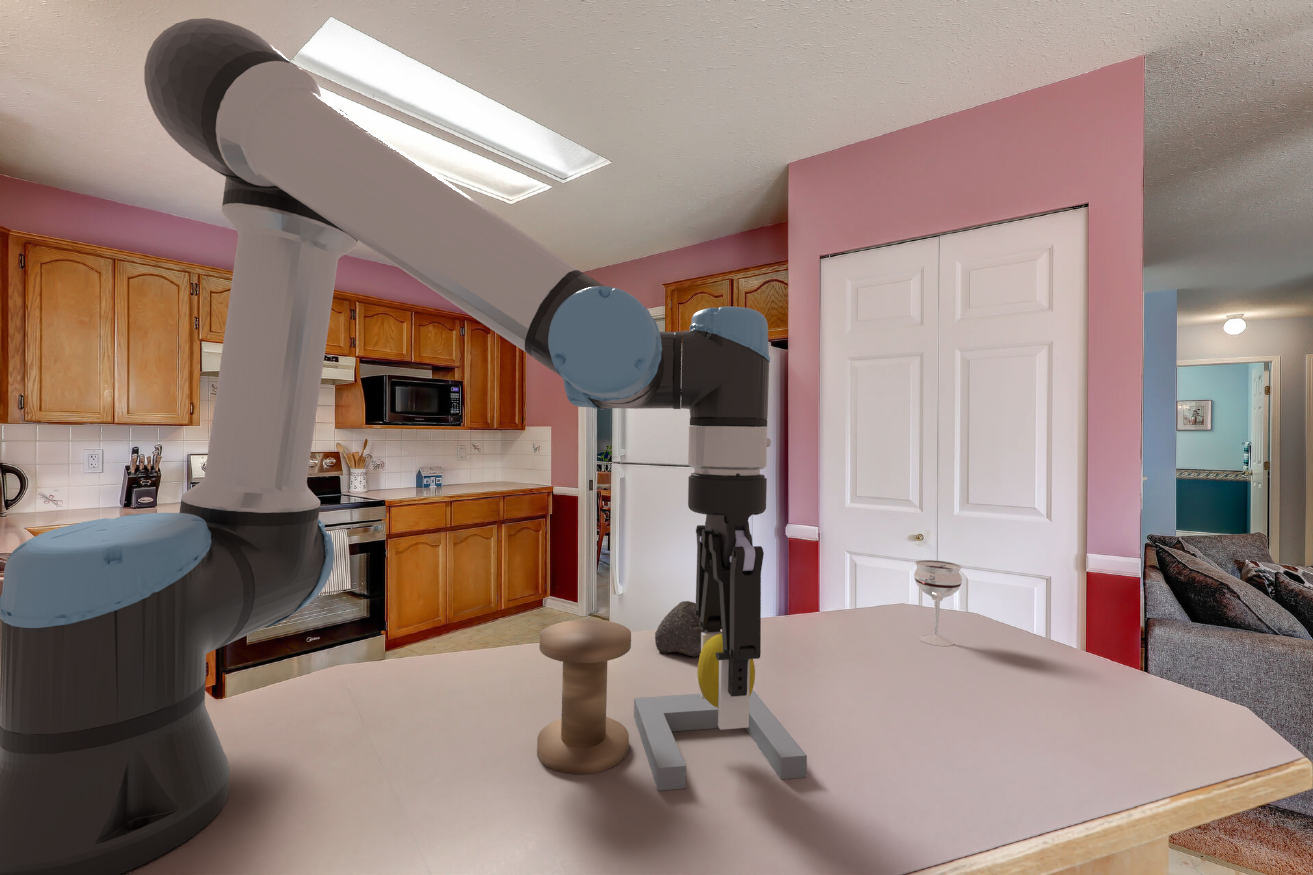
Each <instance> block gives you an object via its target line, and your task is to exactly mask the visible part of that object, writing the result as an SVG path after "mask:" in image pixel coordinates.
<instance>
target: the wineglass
mask: <svg viewBox="0 0 1313 875" xmlns="http://www.w3.org/2000/svg"><path fill="white" fill-rule="evenodd" d="M914 563H915V566H916V567H917V568H916V569H915V571H914V581H915V583H916V585H917V586H918V588H919V589H920V590H921V591H922V592H923V593H924V594H925V595H928V596H929V597H931V600H932V601H933V602H934V634H925V635H924V634H923V635H921V636H919V637H918V639H919V640H920V641H921V642H923V643H925V644H929V645H933V646H937V647H938V646H939V647H951V646H952V645H954V644H955V643H954V641H952V640H951V639H950V638H947V637H944V636H941V635H939V634H938V633H939V620H940V617H939V616H940V607H941V606H940V605H941V601H943V599H944V598H948V597H951V596H953V595H955V593H957V592H958V591H959V590H960V588H961V585H962V581H963V578H962V575H961V573H960V571H961V569H962V565H960V564H958V563H954V562H950V561H943V560H937V559H936V560H935V559H934V560H932V559H923V560H922V559H920V560H919V559H918V560H916V561H914Z"/></svg>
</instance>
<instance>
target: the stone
mask: <svg viewBox="0 0 1313 875" xmlns="http://www.w3.org/2000/svg"><path fill="white" fill-rule="evenodd" d="M695 610H696V602H693V601H689V600H686V601H685V600H684V601H683V600H682V601H681V602H679V603H678V604H677V605H676V606H674V607H673V608H672V609H671V610H670V611H669V612H668V613H667V614H666V615H665V616H664V617H663V620H661V622H660V624H659V625H658V627H657V629H656V631H655V633H654V639H655V640H654V642H655V647H656V649H657V650H658V651H659V653H662V654H669V653H678V654H679V653H680V654H683V655H684V656H690V657H692V658H695V657H697V656H700V653H701V633H702V632H704V630H701V628H700V625H699V622H700V618H699V619H697V618H696V616H695Z"/></svg>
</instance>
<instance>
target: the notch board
mask: <svg viewBox="0 0 1313 875" xmlns="http://www.w3.org/2000/svg"><path fill="white" fill-rule="evenodd" d="M633 717H634V721H635V724H636V727H637V731H638V733H639V737H640V739H641V743H642V745H643V749H644V751H645V755H646V758H647V761H648V765H649V767H650V771H651V774H652V776H653V780H654V783H655V788H656V790H657V791H659V792H660V791H669V790H680V789H681V790H682V789H686V787H687V786H686V784H687V783H686V781H687V780H686V779H687V778H686V777H687V776H686V775H687V765H686V762H685V760H684V758H683V756H682V753H681V751H680V749H679V746H678V743H677V742H676V738H675V737H674V735H673V733H672V732H682V731H684V732H685V731H693V730H694V731H696V730H706V729H707V730H709V729H711V730H712V729H720V728H719V727H718V708H717V707H715V706H713V705H712V704H710V703H709V702H708V701H707V700H706V699H702V698H701V697H700V693H693V694H676V695H675V694H674V695H658V696H643V697H642V696H641V697H634V700H633ZM745 730H746V731H747V732H748V734H749V735H750V736H751V737H752V739H753V741H754V742H755V744H756V745H757V747H758V748H759V750H760V751H761V752H762V754H763V755H764V757H765V758H766V760H767V761H768V763H769V765H770V766H771V767H772V768H773V770H774V771H775V773H776V774H777V776H778V778H779V779H780V780H790V779H797V778H798V779H799V778H807V773H808V772H807V769H808V768H807V766H808V765H807V764H808V755H807V754H806V752H805V751H804V750H803V749H802V748H801V747H800V744H798V743H797V742H796V740H795V739H794V737H792V736H791V734H790V733H789V732H788V730H786V728H785V727H784V726H783V725H782V723H781V722H780V720H779V719H778V718H777V717H776V716H775V714H773V712H772V711H771V709H770V708H769V707H768V706H767V705H766V704H765V702H764V701H763V700H762V698H761V697H760V696H759V695H758V694H757V693H756V691H755V690H754V689H753V690H752V693H751V695H750V697H749V727H748V728H745Z"/></svg>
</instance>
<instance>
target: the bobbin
mask: <svg viewBox="0 0 1313 875" xmlns="http://www.w3.org/2000/svg"><path fill="white" fill-rule="evenodd" d="M538 648H539V650H540V651H539V652H540V653H541V654H542V655H544V656H545V657H547V658H549V659H551V660H555V661H557V662H562V678H561V680H562V682H561V684H562V685H561V718H558V719H556V720H554V721H552V722H550V723H549V724H547V725H545V726H544V727H542V729H541V730H539V733H538V734H537V737H536V738H537V740H536V741H537V742H536V743H537V744H536V754H537V755H536V756H537V758H538V759H539V762H540V763H541V764H543V765H544V766H545V767H547V768H549V769H551V770H553V771H556V772H560V773H563V774H569V775H590V774H596V773H600V772H601V773H602V772H604V771H606V770H609V769H611V768H613V767H615V766H617V765H619V764H620V763H621V762H622V761H624V759H625V758H626V757H627V755H628V753H629V749H630V748H629V746H630V744H629V742H630V741H629V740H630V735H629V731H628V729H627V728H626V726H624V725H623V724H622V723H621V722H619V721H617V720H616V719H614V718H611V717H607V702H608V701H607V699H608V698H607V693H608V691H607V690H608V688H607V687H608V662H609V661H611V660H615V659H618V658H620V657H623V656H624V655H626V654H627V653H629V651H630V650H631V648H632V632H631V631H630V629H629V628H628V627H627V626H625V625H623V624H620V623H617V622H614V621H610V620H602V619H573V620H567V621H566V620H565V621H561V622H557V623H554V624H552V625H548V626H547V627H544V629H542V630H540V634H539V647H538Z"/></svg>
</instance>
